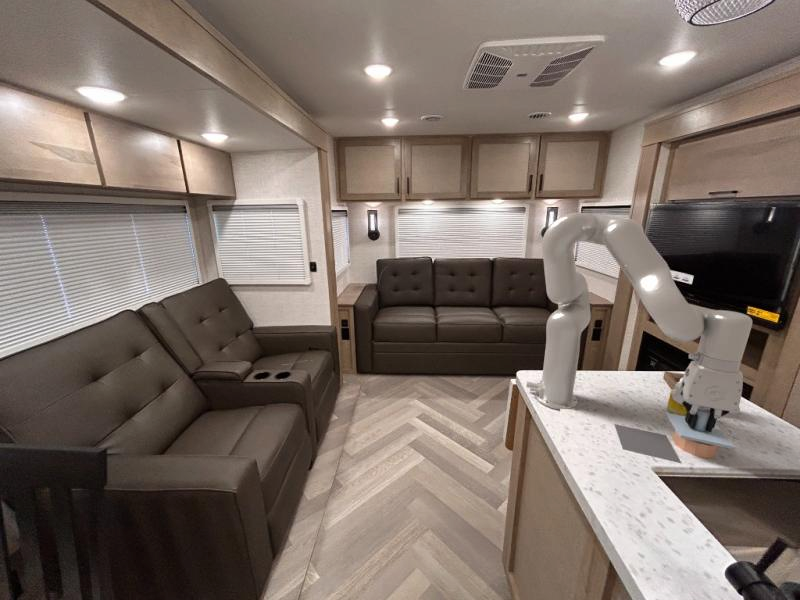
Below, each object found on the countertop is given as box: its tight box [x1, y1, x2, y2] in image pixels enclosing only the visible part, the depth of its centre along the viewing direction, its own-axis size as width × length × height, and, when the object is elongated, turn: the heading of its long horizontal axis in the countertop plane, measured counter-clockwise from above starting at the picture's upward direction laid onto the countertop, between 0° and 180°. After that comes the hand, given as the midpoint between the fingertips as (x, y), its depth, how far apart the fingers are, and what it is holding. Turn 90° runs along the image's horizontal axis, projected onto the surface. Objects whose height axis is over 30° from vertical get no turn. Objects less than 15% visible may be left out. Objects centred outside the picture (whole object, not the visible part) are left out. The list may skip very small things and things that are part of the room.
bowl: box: [672, 429, 718, 459], centre depth 81 cm, size 8×8×4 cm
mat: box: [614, 423, 682, 464], centre depth 83 cm, size 12×11×1 cm
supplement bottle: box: [666, 383, 687, 416], centre depth 94 cm, size 5×5×10 cm
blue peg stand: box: [665, 407, 735, 450], centre depth 79 cm, size 10×10×6 cm
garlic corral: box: [662, 370, 685, 391], centre depth 109 cm, size 11×11×3 cm
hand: (698, 426), depth 80 cm, fingers closed on blue peg stand, 2 cm apart
